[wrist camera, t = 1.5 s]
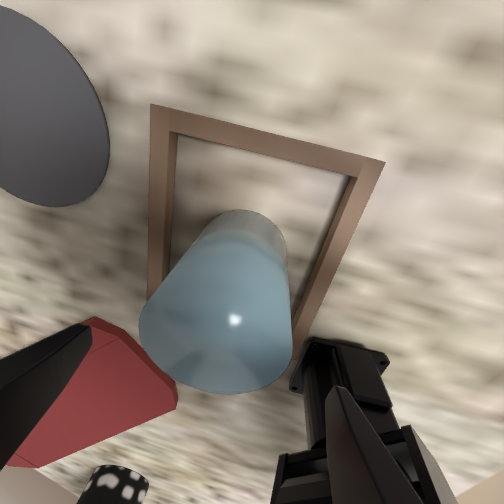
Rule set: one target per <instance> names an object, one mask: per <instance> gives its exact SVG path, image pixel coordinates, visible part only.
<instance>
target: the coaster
mask: <svg viewBox="0 0 504 504" xmlns="http://www.w3.org/2000/svg"><path fill="white" fill-rule="evenodd" d="M109 147H110V142H109V133H108V127H107V123H106V118H105V115H104V112H103V109H102V106H101V103H100V101H99V98H98V96H97V94H96V92H95V89H94V87H93V86H92V84H91V82H90V80H89V78H88V77H87V75H86V73H85V72H84V71H83V69H82V68H81V66H80V65H79V63H78V62H77V61H76V59H75V58H74V57H73V56H72V54H71V53H70V52H69V51H68V50H67V48H66V47H65V46H64V45H63V44H62V43H61V42H60V41H59V40H58V39H57V38H56V37H54V36H53V35H52V34H51V33H50V32H48V31H47V30H46V29H45V28H44V27H42V26H41V25H39V24H38V23H36V22H35V21H33V20H32V19H30V18H28V17H26V16H24V15H22V14H20V13H18V12H16V11H14V10H12V9H9V8H6V7H3V6H0V187H1V188H3V189H4V190H6V191H7V192H9V193H11V194H12V195H14V196H16V197H18V198H20V199H23V200H25V201H27V202H30V203H34V204H37V205H42V206H47V207H63V206H68V205H72V204H76V203H78V202H80V201H83V200H85V199H86V198H87V197H89V196H90V195H92V194H93V193H94V192H95V191H96V190H97V188H98V187H99V185H100V184H101V182H102V180H103V178H104V176H105V174H106V170H107V167H108V161H109Z"/></svg>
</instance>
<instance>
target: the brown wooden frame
mask: <svg viewBox="0 0 504 504" xmlns="http://www.w3.org/2000/svg"><path fill="white" fill-rule="evenodd" d="M178 133H180V134H184V135H188V136H192V137H196V138H200V139H204V140H209V141H213V142H217V143H221V144H225V145H229V146H233V147H237V148H241V149H245V150H249V151H253V152H257V153H261V154H265V155H269V156H273V157H277V158H281V159H285V160H289V161H293V162H297V163H301V164H305V165H309V166H313V167H317V168H321V169H325V170H329V171H333V172H337V173H341V174H345V175H349V176H351V177H350V179H349V182H348V184H347V187H346V189H345V192H344V194H343V197H342V199H341V202H340V204H339V207H338V209H337V212H336V214H335V217H334V219H333V222H332V224H331V227H330V229H329V232H328V234H327V237H326V239H325V242H324V244H323V247H322V249H321V252H320V254H319V257H318V259H317V261H316V264H315V266H314V269H313V271H312V274H311V276H310V279H309V281H308V284H307V286H306V289H305V291H304V294H303V296H302V299H301V301H300V304H299V306H298V309H297V311H296V314H295V316H294V319H293V321H292V324H291V329H292V346H293V350H292V357H291V359H295V360H296V358H297V356H298V353H299V351H300V349H301V347H302V345H303V342H304V340H305V338H306V336H307V334H308V332H309V329H310V327H311V325H312V323H313V321H314V318H315V316H316V314H317V312H318V310H319V307H320V305H321V303H322V301H323V299H324V297H325V294H326V292H327V290H328V288H329V286H330V283H331V281H332V279H333V277H334V275H335V272H336V270H337V268H338V266H339V264H340V262H341V259H342V257H343V255H344V253H345V251H346V248H347V246H348V244H349V242H350V240H351V237H352V235H353V233H354V231H355V229H356V227H357V224H358V222H359V220H360V218H361V216H362V213H363V211H364V209H365V207H366V205H367V202H368V200H369V198H370V196H371V194H372V192H373V189H374V187H375V185H376V183H377V181H378V178H379V176H380V174H381V172H382V170H383V167H384V165H385V163H386V162H383V161H380V160H376V159H372V158H368V157H364V156H360V155H356V154H352V153H348V152H344V151H340V150H336V149H332V148H328V147H324V146H320V145H316V144H312V143H308V142H304V141H300V140H296V139H292V138H288V137H284V136H280V135H276V134H272V133H268V132H264V131H260V130H256V129H252V128H248V127H244V126H240V125H236V124H232V123H228V122H224V121H220V120H216V119H212V118H208V117H204V116H199V115H195V114H191V113H187V112H183V111H179V110H175V109H171V108H167V107H163V106H159V105H155V104H150V164H149V224H148V283H147V302H148V300H149V299H150V298H151V296H152V295H153V294H154V293H155V291H156V290H157V289H158V287H159V286H160V285H161V284H162V282H163V281H164V280H165V278H166V277H167V276H168V275H169V260H170V245H171V230H172V215H173V199H174V184H175V169H176V154H177V139H178Z"/></svg>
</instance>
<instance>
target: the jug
mask: <svg viewBox="0 0 504 504" xmlns="http://www.w3.org/2000/svg"><path fill="white" fill-rule="evenodd" d="M139 335H140V339H141V342H142V345H143V347H144V349H145V351H146V352H147V354H148V356H149V357H150V358H151V359H152V361H153V362H154V363H155V364H156V365H157V366H158V367H159V368H160V369H161V370H163V371H164V372H165V373H166V374H168V375H169V376H171V377H172V378H174V379H176V380H177V381H179V382H181V383H183V384H185V385H187V386H190V387H193V388H196V389H199V390H202V391H207V392H212V393H219V394H240V393H246V392H251V391H255V390H258V389H260V388H263V387H265V386H267V385H269V384H271V383H272V382H274V381H275V380H276V379H277V378H279V377H280V376H281V375H282V374H283V372H284V371H285V370H286V368H287V366H288V365H289V363H290V360H291V357H292V350H293V346H292V329H291V313H290V298H289V282H288V266H287V251H286V243H285V240H284V237H283V235H282V233H281V231H280V230H279V229H278V227H277V226H276V225H275V224H274V223H273V222H272V221H271V220H269V219H268V218H266V217H265V216H263V215H261V214H259V213H256V212H253V211H248V210H232V211H227V212H225V213H222V214H220V215H218V216H216V217H215V218H214V219H212V220H211V221H210V222H209V223H208V224H207V226H206V227H205V228H204V230H203V231H202V232H201V233H200V235H199V236H198V237H197V239H196V240H195V241H194V242H193V244H192V245H191V246H190V248H189V249H188V250H187V251H186V253H185V254H184V255H183V257H182V258H181V259H180V260H179V262H178V263H177V264H176V266H175V267H174V268H173V269H172V271H171V272H170V273H169V275H168V276H167V277H166V278H165V280H164V281H163V282H162V284H161V285H160V286H159V287H158V289H157V290H156V291H155V293H154V294H153V295H152V296H151V298H150V299H149V300H148V302H147V303H146V304H145V306H144V308H143V310H142V312H141V315H140V318H139Z"/></svg>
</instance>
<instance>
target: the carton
mask: <svg viewBox="0 0 504 504" xmlns="http://www.w3.org/2000/svg"><path fill="white" fill-rule="evenodd" d="M82 324H86V325H90V326H91V328H92V336H93V344H92V347H91V348H90V350H89V352H88V353H87V355H86V356H85V358H84V359H83V361H82V362H81V364H80V365H79V367H78V369H77V370H76V372H75V373H74V375H73V376H72V378H71V379H70V381H69V383H68V384H67V386H66V387H65V388H64V390H63V391H62V393H61V394H60V395H59V397H58V398H57V399H56V400H55V402H54V403H53V404H52V406H51V407H50V408H49V409H48V411H47V412H46V413H45V415H44V416H43V417H42V418H41V420H40V421H39V422H38V424H37V425H36V426H35V427H34V429H33V430H32V431H31V433H30V434H29V435H28V436H27V438H26V439H25V440H24V442H23V443H22V444H21V445H20V447H19V448H18V449H17V451H16V452H15V453H14V454H13V456H12V457H11V458H10V460H9V461H8V462H7V463H6V465H8V466H14V467H27V468H40V467H42V466H45V465H47V464H49V463H52V462H54V461H56V460H59V459H61V458H63V457H66V456H68V455H70V454H72V453H75V452H77V451H79V450H82V449H84V448H86V447H89V446H91V445H93V444H96V443H98V442H100V441H103V440H105V439H107V438H110V437H112V436H114V435H117V434H119V433H121V432H123V431H126V430H128V429H130V428H133V427H135V426H137V425H140V424H142V423H144V422H147V421H149V420H151V419H154V418H156V417H158V416H161V415H163V414H165V413H168V412H170V411H172V410H175V409H176V406H177V402H178V394H177V389H176V384H175V381H174V380H173V379H172V378H171V377H170V376H169V375H168V374H166V373H165V372H164V371H163V370H161V369H160V368H159V367H158V366H157V365H156V364H155V363H154V362H153V361H152V359H151V358H150V357H149V356H148V354H147V353H146V352H145V351H144V349H143V348H142V347H141V346H140V345H139V344H138V343H137V342H136V341H135V340H134V339H133V338H132V337H131V336H130V335H129V334H128V333H127V332H126V331H124V330H123V329H121V328H119V327H117V326H115V325H112V324H110V323H108V322H106V321H104V320H102V319H100V318H98V317H96V316H95V317H93V318H91V319H89V320H87V321H84V322H82Z"/></svg>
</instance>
